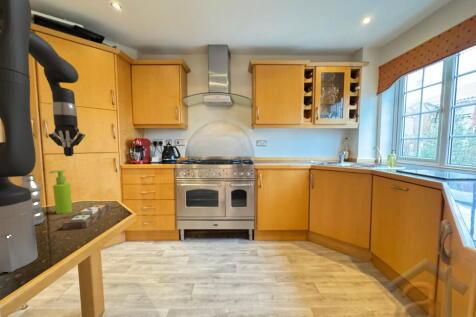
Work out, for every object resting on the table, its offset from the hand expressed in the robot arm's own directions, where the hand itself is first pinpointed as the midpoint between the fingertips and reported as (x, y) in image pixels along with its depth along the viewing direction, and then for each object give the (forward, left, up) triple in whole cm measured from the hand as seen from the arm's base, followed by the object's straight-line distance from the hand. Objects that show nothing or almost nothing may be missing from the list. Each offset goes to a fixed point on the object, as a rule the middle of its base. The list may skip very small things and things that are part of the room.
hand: (69, 156), depth 86 cm
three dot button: (-2, -7, -27) cm, 28 cm away
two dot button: (-9, -7, -28) cm, 30 cm away
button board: (-2, -7, -27) cm, 28 cm away
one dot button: (+4, -7, -28) cm, 29 cm away
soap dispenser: (+9, +10, -27) cm, 30 cm away
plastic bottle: (-5, +12, -27) cm, 30 cm away
